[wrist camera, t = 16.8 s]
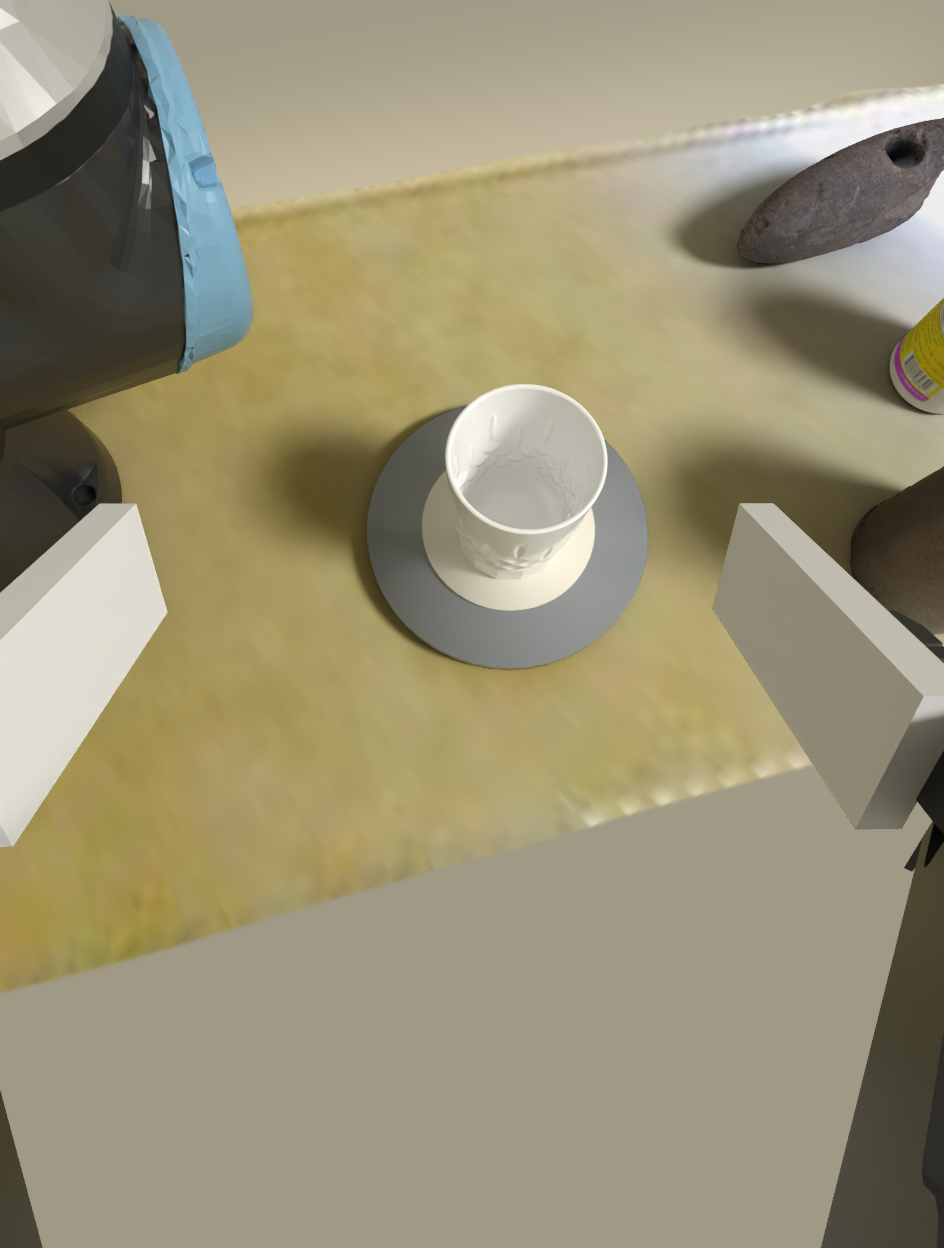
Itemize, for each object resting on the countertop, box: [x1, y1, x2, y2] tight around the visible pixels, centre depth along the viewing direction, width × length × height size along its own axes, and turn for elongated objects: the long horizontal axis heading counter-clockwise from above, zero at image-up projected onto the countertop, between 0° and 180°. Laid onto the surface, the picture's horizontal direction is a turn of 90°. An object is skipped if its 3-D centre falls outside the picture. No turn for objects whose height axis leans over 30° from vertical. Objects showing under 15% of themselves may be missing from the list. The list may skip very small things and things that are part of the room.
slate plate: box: [367, 405, 648, 670], centre depth 42 cm, size 18×18×2 cm
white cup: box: [445, 384, 607, 580], centre depth 36 cm, size 8×8×10 cm
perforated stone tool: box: [737, 118, 944, 264], centre depth 45 cm, size 15×5×7 cm, turn 111°
